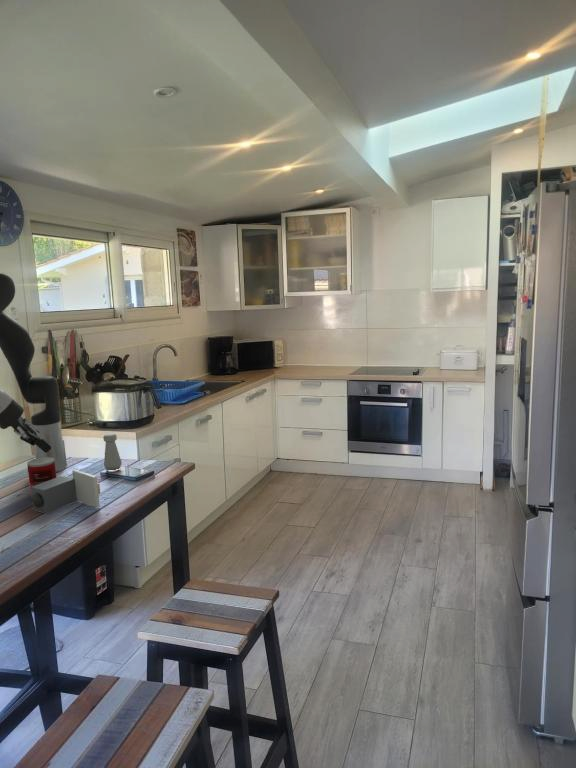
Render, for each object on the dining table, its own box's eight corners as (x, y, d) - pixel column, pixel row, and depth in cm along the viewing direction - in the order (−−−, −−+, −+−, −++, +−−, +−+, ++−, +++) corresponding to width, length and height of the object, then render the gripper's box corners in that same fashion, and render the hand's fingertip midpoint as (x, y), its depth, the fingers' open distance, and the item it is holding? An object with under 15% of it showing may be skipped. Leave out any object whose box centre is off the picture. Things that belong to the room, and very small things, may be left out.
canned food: (47, 488, 177) (43, 455, 176) (64, 492, 173) (60, 458, 171) (25, 497, 171) (21, 462, 169) (42, 501, 167) (37, 466, 165)
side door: (77, 500, 165) (73, 471, 164) (82, 498, 167) (79, 469, 165) (96, 508, 159) (93, 477, 158) (102, 505, 161) (99, 475, 159)
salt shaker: (125, 469, 194) (122, 432, 192) (112, 474, 189) (108, 437, 187) (114, 466, 197) (110, 431, 195) (101, 471, 192) (97, 435, 190)
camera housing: (66, 496, 170) (63, 467, 168) (80, 499, 167) (76, 470, 165) (31, 511, 160) (27, 480, 158) (44, 514, 157) (40, 483, 155)
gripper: (11, 405, 142) (61, 448, 150) (11, 391, 153) (57, 432, 162) (-13, 425, 141) (39, 468, 149) (-11, 410, 152) (37, 450, 160)
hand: (48, 449), depth 155 cm, fingers closed
